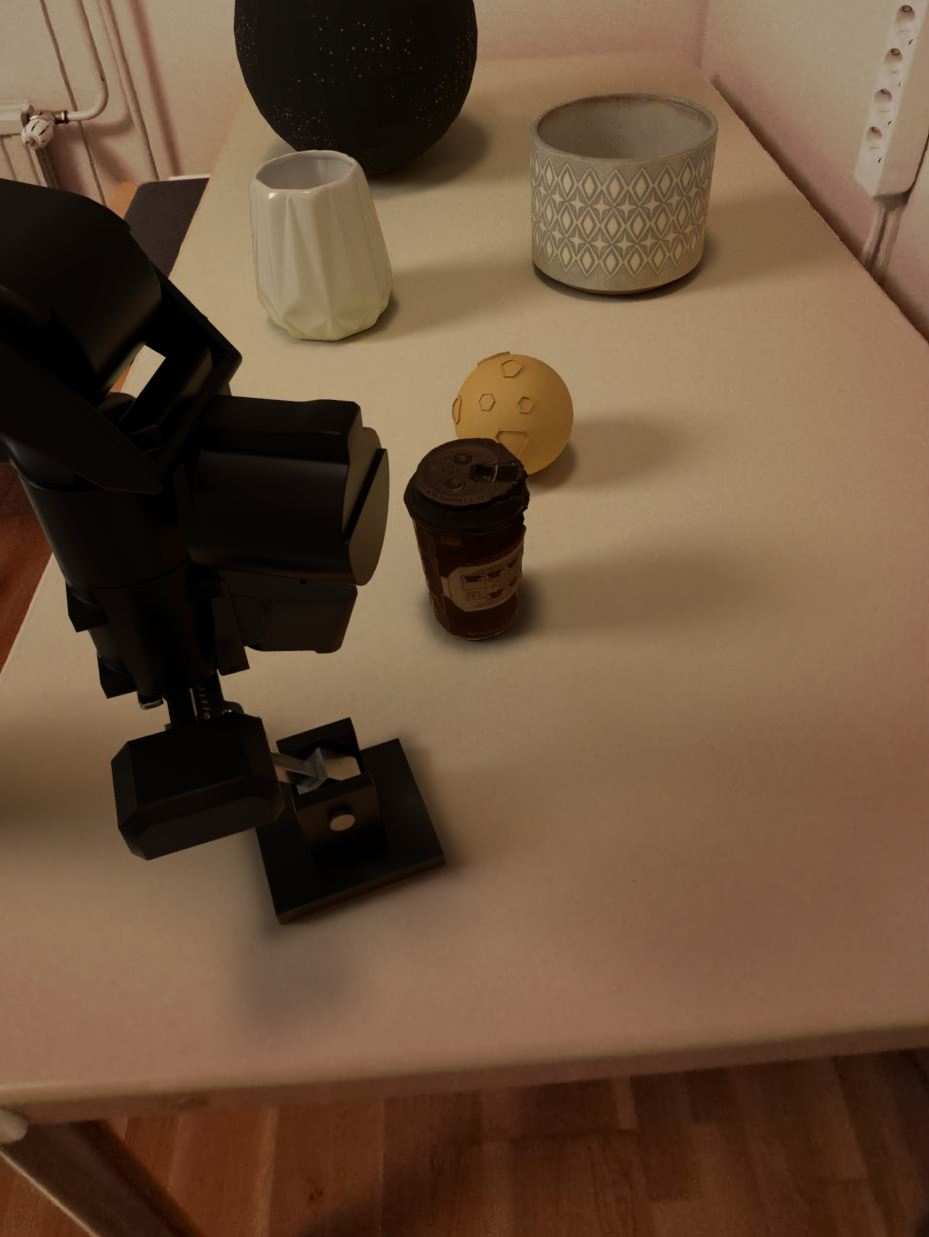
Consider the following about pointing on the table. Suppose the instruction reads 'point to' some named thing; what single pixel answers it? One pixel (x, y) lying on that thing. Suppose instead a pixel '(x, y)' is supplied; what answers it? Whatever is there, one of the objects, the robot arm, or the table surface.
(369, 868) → the lever bracket
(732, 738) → the table surface
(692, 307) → the table surface
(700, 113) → the planter
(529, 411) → the stress ball
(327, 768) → the switch lever
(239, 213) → the table surface
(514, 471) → the coffee cup
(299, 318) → the vase
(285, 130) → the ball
